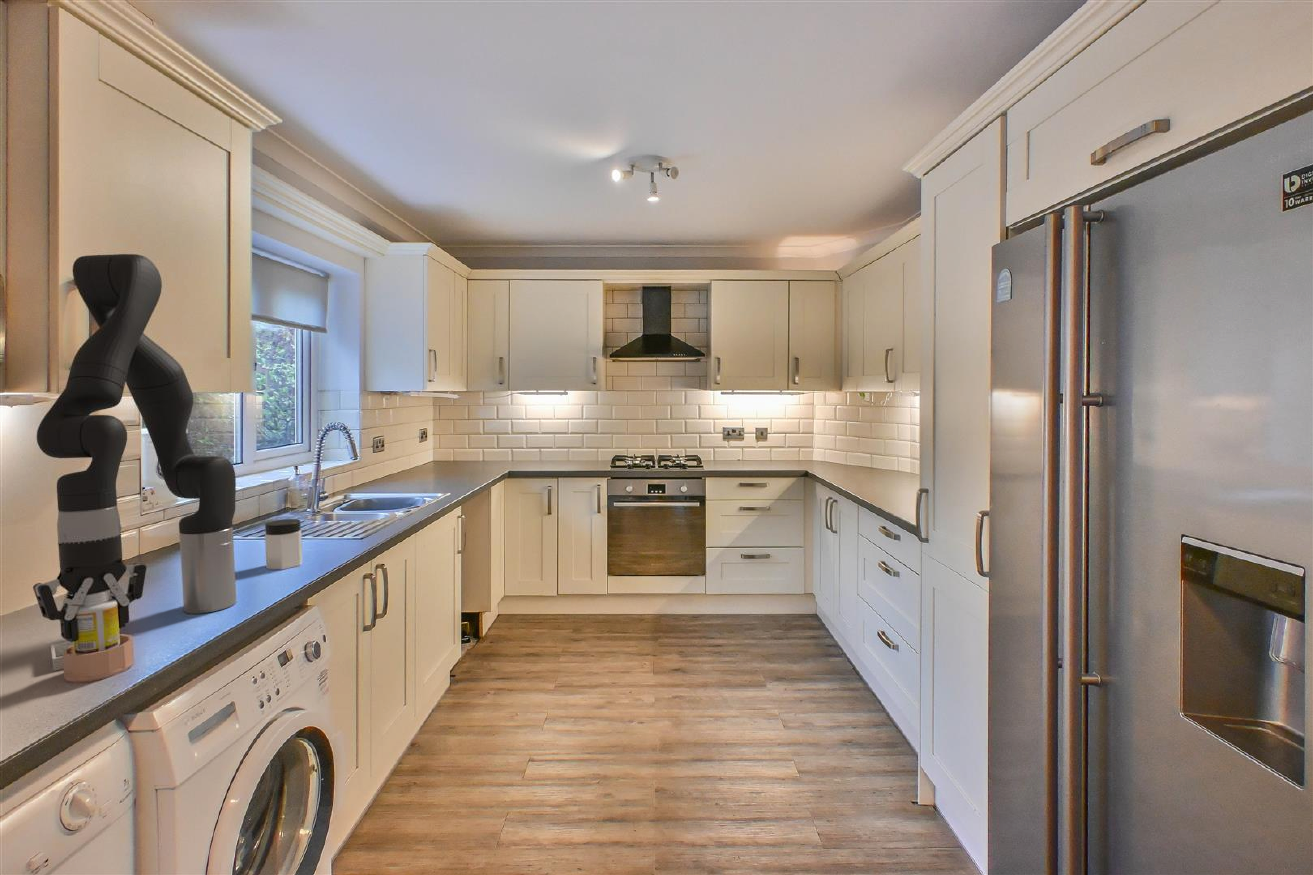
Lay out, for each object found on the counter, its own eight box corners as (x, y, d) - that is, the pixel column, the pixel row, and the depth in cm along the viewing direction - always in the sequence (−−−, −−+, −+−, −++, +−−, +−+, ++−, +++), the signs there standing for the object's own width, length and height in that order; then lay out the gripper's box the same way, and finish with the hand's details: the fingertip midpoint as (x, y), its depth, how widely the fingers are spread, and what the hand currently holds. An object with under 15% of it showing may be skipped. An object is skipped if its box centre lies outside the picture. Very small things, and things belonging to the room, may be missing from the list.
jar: (295, 559, 165) (293, 517, 164) (309, 563, 161) (307, 521, 160) (259, 566, 158) (257, 523, 157) (273, 571, 153) (271, 527, 152)
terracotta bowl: (88, 661, 102) (86, 636, 101) (145, 656, 104) (143, 632, 103) (50, 685, 93) (48, 658, 93) (113, 679, 95) (111, 652, 95)
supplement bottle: (117, 641, 102) (114, 584, 101) (122, 650, 98) (119, 591, 98) (73, 651, 98) (69, 591, 97) (76, 661, 94) (72, 599, 94)
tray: (51, 656, 104) (50, 645, 103) (112, 642, 109) (112, 631, 109) (53, 671, 98) (52, 659, 98) (117, 655, 104) (117, 644, 104)
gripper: (133, 524, 105) (138, 615, 106) (19, 541, 92) (27, 645, 93) (154, 528, 102) (159, 622, 103) (39, 547, 89) (47, 655, 90)
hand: (96, 633), depth 98 cm, fingers closed on supplement bottle, 5 cm apart
